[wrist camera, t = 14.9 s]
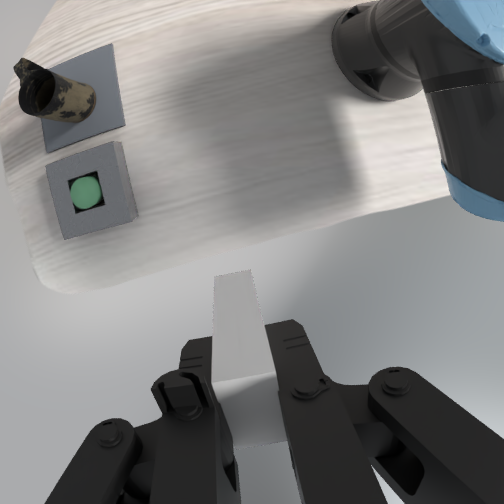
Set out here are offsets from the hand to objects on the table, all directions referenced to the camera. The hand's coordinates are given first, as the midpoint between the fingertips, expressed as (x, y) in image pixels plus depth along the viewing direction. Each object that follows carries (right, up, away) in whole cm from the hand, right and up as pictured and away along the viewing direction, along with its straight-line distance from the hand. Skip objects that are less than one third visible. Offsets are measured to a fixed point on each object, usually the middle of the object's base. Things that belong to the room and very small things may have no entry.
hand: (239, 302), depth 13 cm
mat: (-22, +23, +21) cm, 38 cm away
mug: (-23, +22, +20) cm, 38 cm away
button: (-20, +10, +24) cm, 33 cm away
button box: (-20, +10, +25) cm, 34 cm away
